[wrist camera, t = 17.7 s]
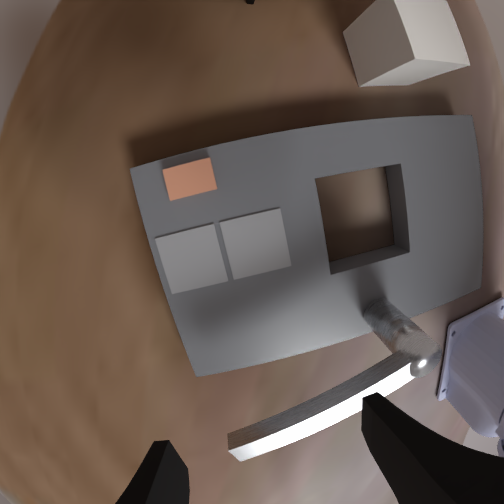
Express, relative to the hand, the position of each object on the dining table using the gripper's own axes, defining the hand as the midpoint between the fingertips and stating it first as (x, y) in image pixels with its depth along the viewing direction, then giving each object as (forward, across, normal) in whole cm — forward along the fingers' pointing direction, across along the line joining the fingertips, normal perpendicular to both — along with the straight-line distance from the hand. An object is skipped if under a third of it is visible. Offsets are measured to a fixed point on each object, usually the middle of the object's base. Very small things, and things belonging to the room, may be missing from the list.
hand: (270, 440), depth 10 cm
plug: (+10, -12, -15) cm, 22 cm away
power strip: (+10, -7, -4) cm, 13 cm away
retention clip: (+8, -3, +2) cm, 9 cm away
